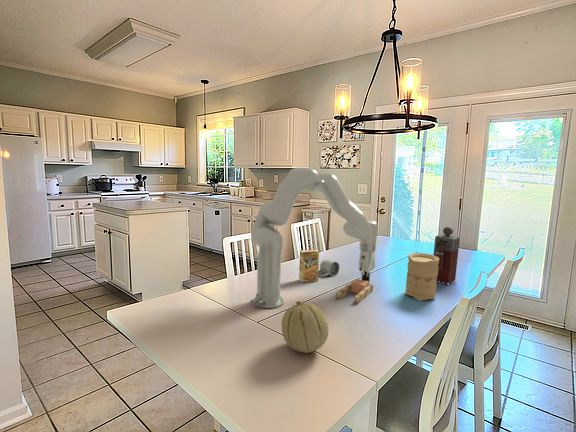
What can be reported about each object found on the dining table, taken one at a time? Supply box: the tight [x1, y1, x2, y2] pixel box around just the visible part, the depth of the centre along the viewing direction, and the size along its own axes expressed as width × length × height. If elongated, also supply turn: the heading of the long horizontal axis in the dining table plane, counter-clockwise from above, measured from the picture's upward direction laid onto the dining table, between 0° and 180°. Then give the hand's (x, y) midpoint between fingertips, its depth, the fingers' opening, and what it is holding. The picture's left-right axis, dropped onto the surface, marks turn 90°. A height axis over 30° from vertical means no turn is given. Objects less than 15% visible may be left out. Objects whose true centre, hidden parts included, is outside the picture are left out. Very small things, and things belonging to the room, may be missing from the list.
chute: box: [336, 279, 374, 305], centre depth 146 cm, size 18×10×3 cm, turn 146°
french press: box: [433, 226, 461, 285], centre depth 165 cm, size 9×11×28 cm
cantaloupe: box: [281, 300, 330, 354], centre depth 101 cm, size 15×15×15 cm
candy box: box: [298, 249, 320, 283], centre depth 162 cm, size 9×4×15 cm, turn 107°
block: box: [350, 278, 370, 294], centre depth 150 cm, size 6×6×4 cm
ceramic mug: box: [318, 259, 340, 278], centre depth 172 cm, size 11×8×8 cm
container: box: [405, 252, 439, 301], centre depth 146 cm, size 13×13×18 cm
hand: (365, 284), depth 156 cm, fingers closed
